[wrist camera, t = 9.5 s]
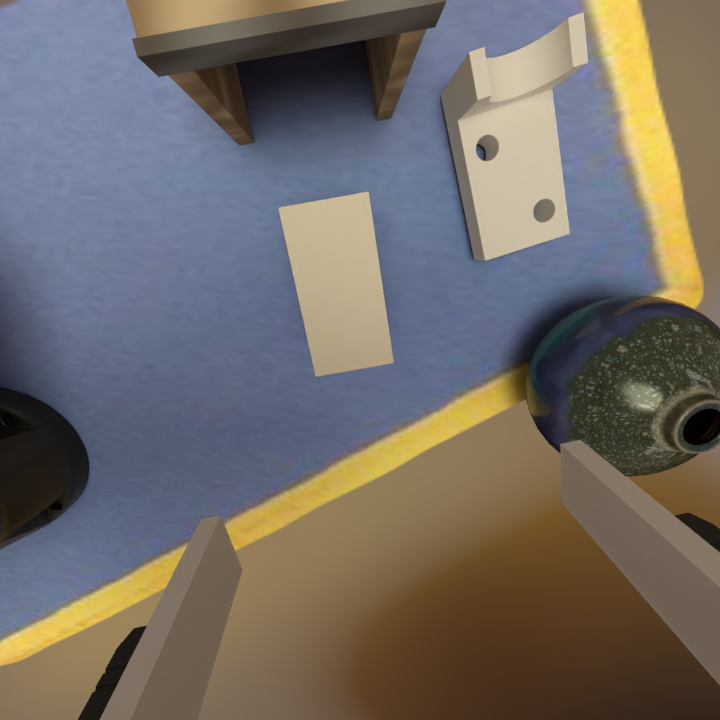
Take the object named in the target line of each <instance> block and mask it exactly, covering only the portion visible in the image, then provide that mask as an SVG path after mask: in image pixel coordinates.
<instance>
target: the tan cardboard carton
mask: <svg viewBox="0 0 720 720" xmlns="http://www.w3.org/2000/svg"><path fill="white" fill-rule="evenodd" d="M279 213H280V217H281V222H282V226H283V231H284V236H285V240H286V245H287V249H288V254H289V258H290V263H291V267H292V272H293V276H294V281H295V285H296V290H297V294H298V299H299V303H300V308H301V312H302V317H303V321H304V326H305V330H306V335H307V339H308V344H309V349H310V353H311V358H312V362H313V367H314V371H315V376H316V377H317V376H323V375H328V374H334V373H340V372H345V371H351V370H357V369H362V368H368V367H374V366H379V365H385V364H391V363H394V361H393V354H392V347H391V340H390V334H389V327H388V320H387V313H386V307H385V300H384V293H383V286H382V279H381V273H380V266H379V259H378V252H377V246H376V239H375V232H374V225H373V218H372V212H371V205H370V198H369V192H364V193H358V194H352V195H347V196H341V197H336V198H330V199H324V200H319V201H313V202H308V203H302V204H296V205H291V206H285V207H280V208H279Z"/></svg>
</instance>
